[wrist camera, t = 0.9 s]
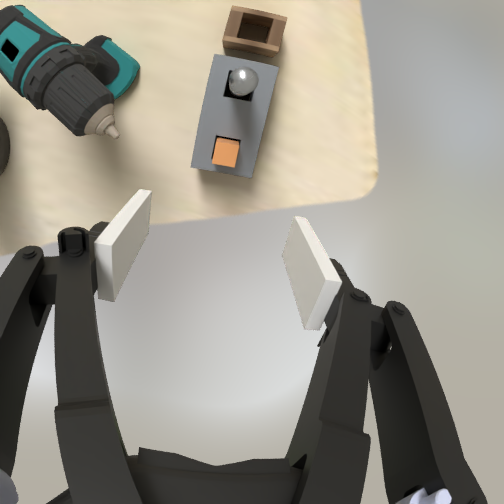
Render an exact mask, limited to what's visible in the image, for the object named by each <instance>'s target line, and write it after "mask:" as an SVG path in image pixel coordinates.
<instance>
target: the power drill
mask: <svg viewBox="0 0 504 504" xmlns="http://www.w3.org/2000/svg"><path fill="white" fill-rule="evenodd" d="M111 40H112V39H111V38H109V37H106V36H103V35H100V36H96V37H94V38H93V39H91V40H90V41H89V42H87V43H86V44H85V45H84V46H82V45H79V44H71V42H70V41H69V40H68V39H66V38H65V37H63V36H61V35H60V34H59V33H57V32H56V31H54V30H53V29H51V28H50V27H49V26H48V25H47V24H45V23H44V22H43V21H42V20H40V19H39V18H38V17H37V16H35V15H34V14H33V13H32V12H30V11H29V10H28V9H26V8H25V6H23V5H15V6H13V5H12V6H7V7H5V8H3V9H2V10H0V73H1V74H2V76H3V77H4V78H5V79H6V81H7V82H8V83H9V85H10V86H11V87H12V88H13V89H14V90H16V91H17V92H18V93H19V94H20V95H21V96H22V97H25V98H26V99H27V100H29V101H30V102H31V103H32V105H33V106H34V107H35V108H36V109H37V110H38V109H42V110H46V109H48V110H49V111H50V112H51V113H52V114H53V115H54V116H55V117H56V118H57V119H58V120H59V121H60V122H61V123H62V124H64V125H65V126H66V127H67V128H68V129H69V130H70V131H71V132H72V133H73V134H74V135H75V136H84V135H90V134H98V135H104V134H108V135H109V136H111V137H112V138H114V139H117V138H118V137H119V136H120V134H119V133H118V131H117V130H116V128H115V127H114V123H115V121H114V116H113V109H114V99H117V98H118V97H119V96H121V95H122V94H123V93H124V92H125V91H126V90H127V89H128V88H129V86H130V85H131V84H132V82H133V80H134V78H135V77H136V74H137V70H139V68H140V65H139V63H138V62H137V61H136V60H135V59H133V58H132V57H131V56H130V55H129V54H127V53H126V52H125V51H123V50H122V49H121V48H120V47H118V46H117V45H116V44H115V43H113V42H112V41H111Z"/></svg>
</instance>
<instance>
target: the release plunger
mask: <svg viewBox="0 0 504 504" xmlns="http://www.w3.org/2000/svg"><path fill="white" fill-rule="evenodd" d="M238 150H239V141H234V140H228V139H223V138H217V141H216V145H215V150H214V155H213V160H212V164H218V165H223V166H229V167H234V168H235V163H236V159H237V154H238Z"/></svg>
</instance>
